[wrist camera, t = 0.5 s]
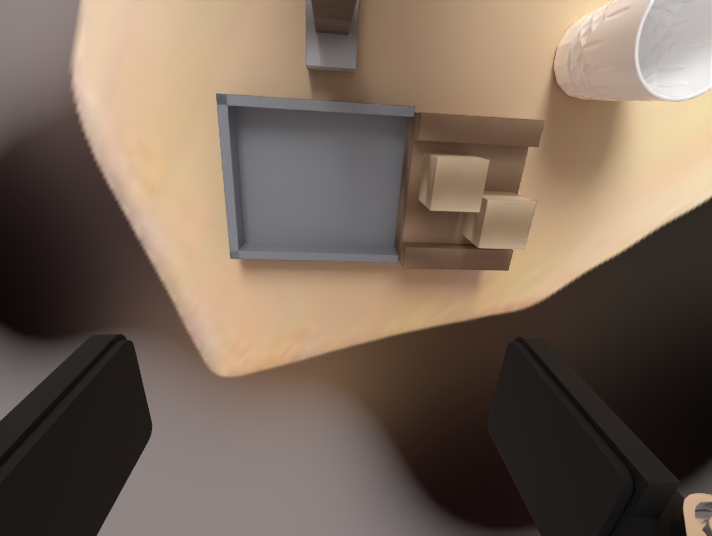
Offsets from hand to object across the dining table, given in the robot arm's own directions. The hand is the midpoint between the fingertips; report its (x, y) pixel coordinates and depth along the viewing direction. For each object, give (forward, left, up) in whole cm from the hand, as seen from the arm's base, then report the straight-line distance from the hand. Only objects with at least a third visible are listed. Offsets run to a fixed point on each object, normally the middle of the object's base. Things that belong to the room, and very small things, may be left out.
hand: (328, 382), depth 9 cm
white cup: (-12, +23, -28) cm, 38 cm away
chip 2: (+1, +15, -24) cm, 28 cm away
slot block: (0, +12, -28) cm, 30 cm away
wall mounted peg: (-13, 0, -28) cm, 31 cm away
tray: (0, -1, -28) cm, 28 cm away
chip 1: (-2, +10, -24) cm, 26 cm away
